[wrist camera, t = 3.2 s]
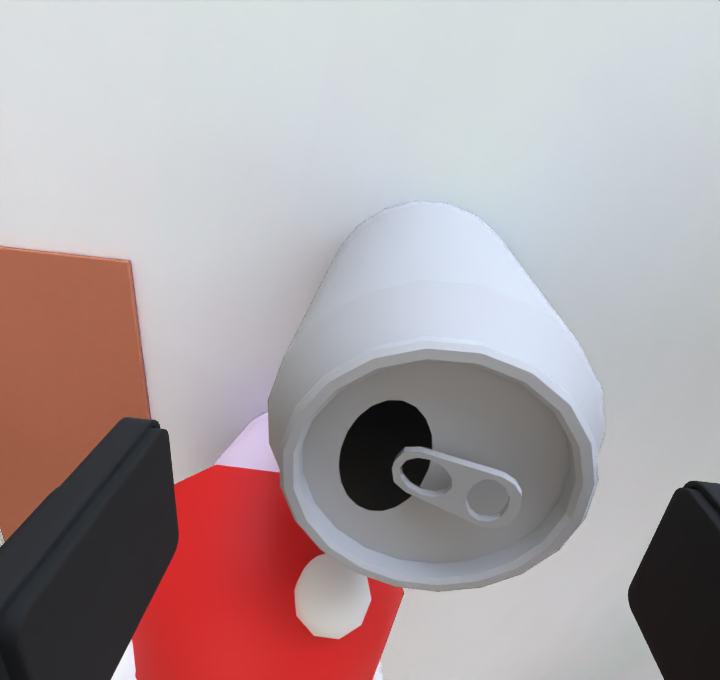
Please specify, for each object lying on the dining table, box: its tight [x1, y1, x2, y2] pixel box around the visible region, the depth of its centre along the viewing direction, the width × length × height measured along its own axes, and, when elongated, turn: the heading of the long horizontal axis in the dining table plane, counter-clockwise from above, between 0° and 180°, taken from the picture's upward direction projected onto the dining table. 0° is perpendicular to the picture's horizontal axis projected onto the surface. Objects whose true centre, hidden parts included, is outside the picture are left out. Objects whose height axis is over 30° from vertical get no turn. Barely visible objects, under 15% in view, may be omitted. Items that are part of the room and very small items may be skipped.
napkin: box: [0, 247, 150, 542], centre depth 25 cm, size 10×20×1 cm, turn 175°
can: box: [268, 201, 605, 592], centre depth 15 cm, size 8×8×12 cm
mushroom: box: [111, 412, 404, 680], centre depth 19 cm, size 11×11×12 cm
